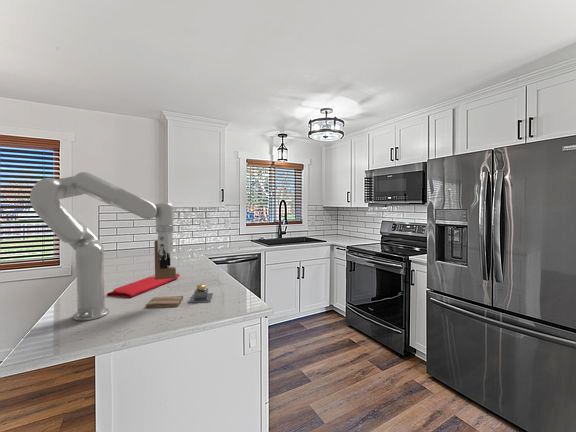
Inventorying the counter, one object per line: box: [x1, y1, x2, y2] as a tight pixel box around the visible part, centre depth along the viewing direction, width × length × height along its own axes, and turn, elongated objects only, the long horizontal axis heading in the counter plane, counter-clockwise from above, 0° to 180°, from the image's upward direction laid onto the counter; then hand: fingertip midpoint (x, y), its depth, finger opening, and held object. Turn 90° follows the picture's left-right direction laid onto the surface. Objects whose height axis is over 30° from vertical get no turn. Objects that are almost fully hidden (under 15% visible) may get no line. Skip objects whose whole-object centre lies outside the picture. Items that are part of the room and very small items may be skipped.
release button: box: [196, 283, 207, 291], centre depth 145 cm, size 4×4×2 cm
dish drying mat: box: [106, 273, 180, 299], centre depth 168 cm, size 16×41×4 cm, turn 166°
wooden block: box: [153, 239, 177, 280], centre depth 138 cm, size 9×4×18 cm, turn 112°
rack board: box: [145, 295, 184, 309], centre depth 139 cm, size 11×14×2 cm
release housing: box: [188, 287, 214, 304], centre depth 146 cm, size 12×10×4 cm
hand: (165, 266), depth 138 cm, fingers closed on wooden block, 4 cm apart
